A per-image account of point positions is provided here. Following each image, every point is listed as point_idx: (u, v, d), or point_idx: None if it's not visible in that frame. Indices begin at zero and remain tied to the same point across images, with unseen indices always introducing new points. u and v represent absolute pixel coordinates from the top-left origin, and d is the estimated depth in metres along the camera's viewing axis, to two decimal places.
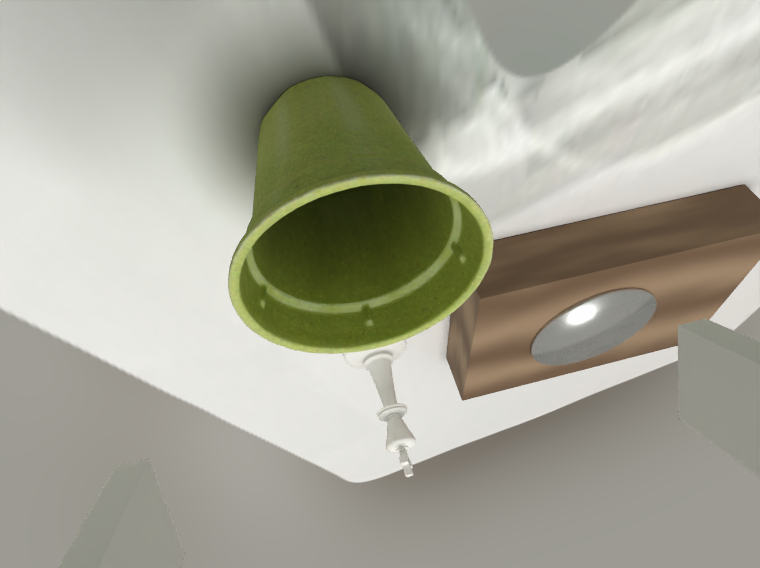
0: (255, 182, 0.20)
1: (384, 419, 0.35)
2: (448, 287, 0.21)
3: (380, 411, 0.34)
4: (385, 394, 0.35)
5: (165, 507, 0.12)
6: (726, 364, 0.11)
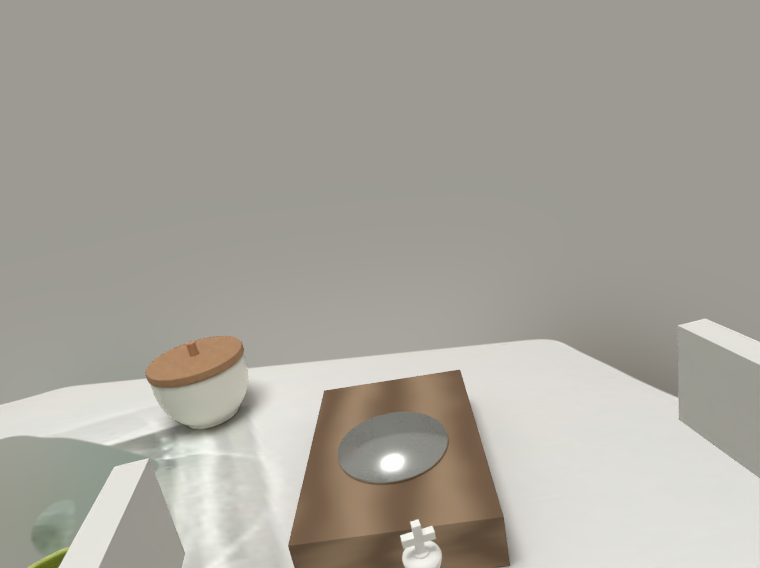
0: None
1: None
2: None
3: None
4: None
5: (165, 506, 0.12)
6: (726, 364, 0.11)
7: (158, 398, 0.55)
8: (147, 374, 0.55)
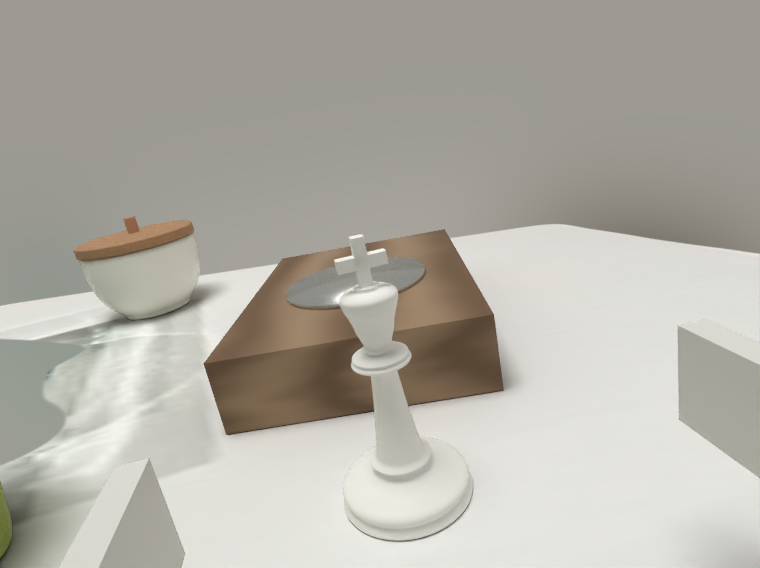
0: None
1: (387, 358, 0.17)
2: None
3: (362, 373, 0.17)
4: (372, 392, 0.18)
5: (165, 506, 0.12)
6: (726, 364, 0.11)
7: (88, 277, 0.46)
8: (75, 249, 0.46)
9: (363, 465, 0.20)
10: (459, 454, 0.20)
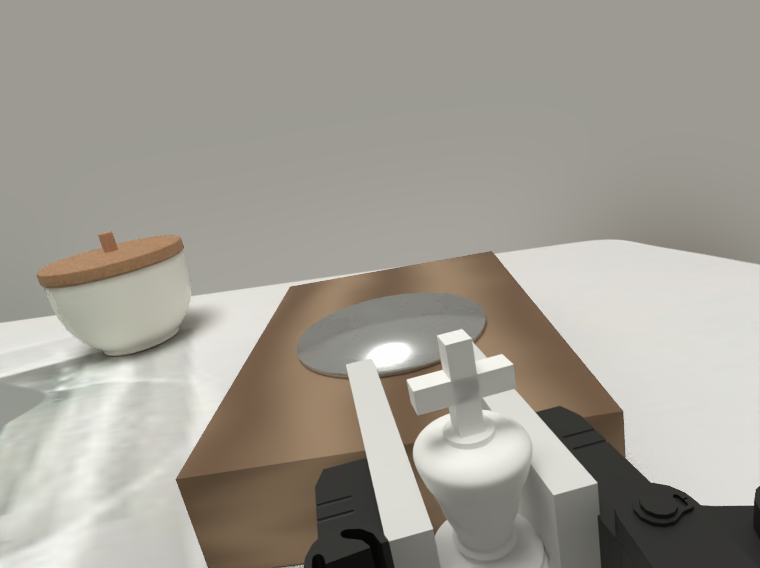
0: None
1: None
2: None
3: None
4: None
5: None
6: None
7: (54, 307, 0.38)
8: (38, 272, 0.38)
9: None
10: None
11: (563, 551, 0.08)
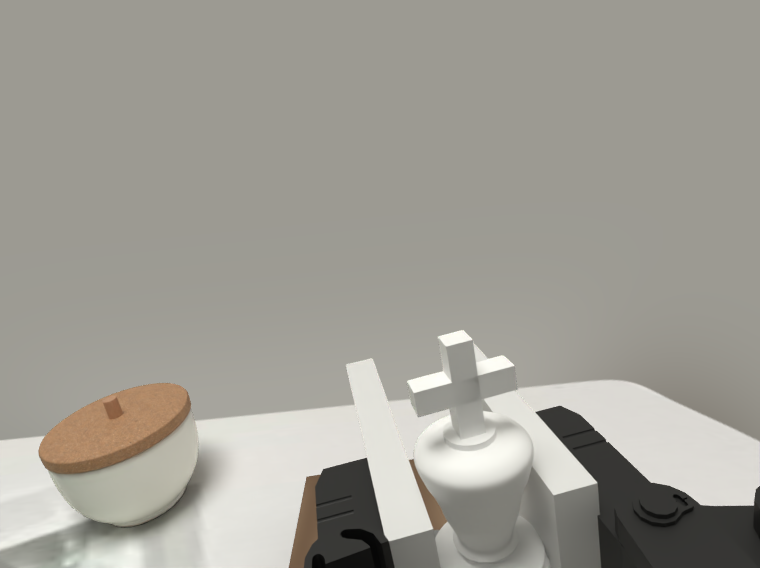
0: None
1: None
2: None
3: None
4: None
5: None
6: None
7: (57, 486, 0.36)
8: (40, 450, 0.37)
9: None
10: None
11: (563, 551, 0.08)
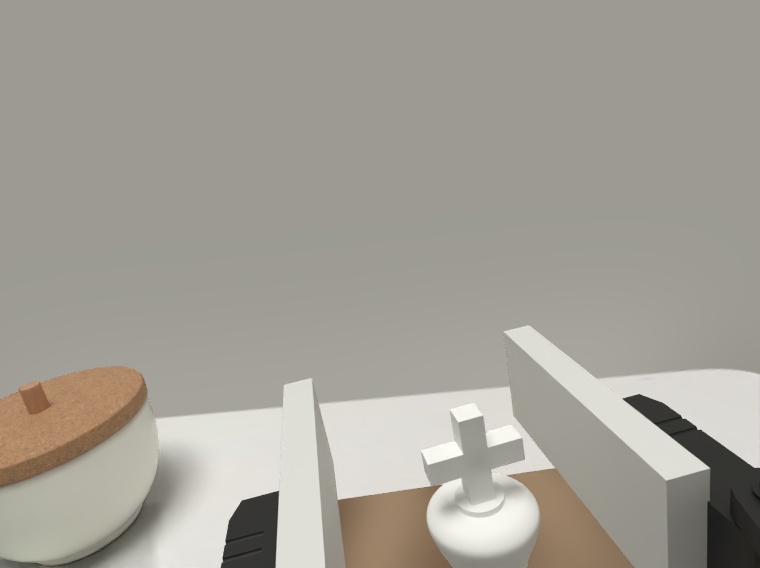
0: None
1: None
2: None
3: None
4: None
5: (321, 421, 0.14)
6: (528, 366, 0.13)
7: None
8: None
9: None
10: None
11: (670, 538, 0.08)
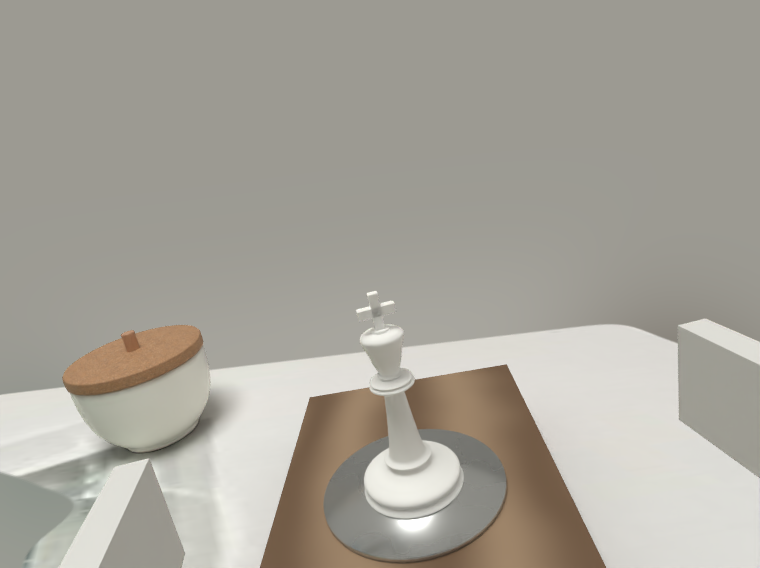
0: None
1: (396, 382, 0.23)
2: None
3: (377, 393, 0.23)
4: None
5: (165, 507, 0.12)
6: (726, 364, 0.11)
7: (79, 410, 0.39)
8: (64, 377, 0.39)
9: (379, 463, 0.25)
10: (453, 454, 0.25)
11: None
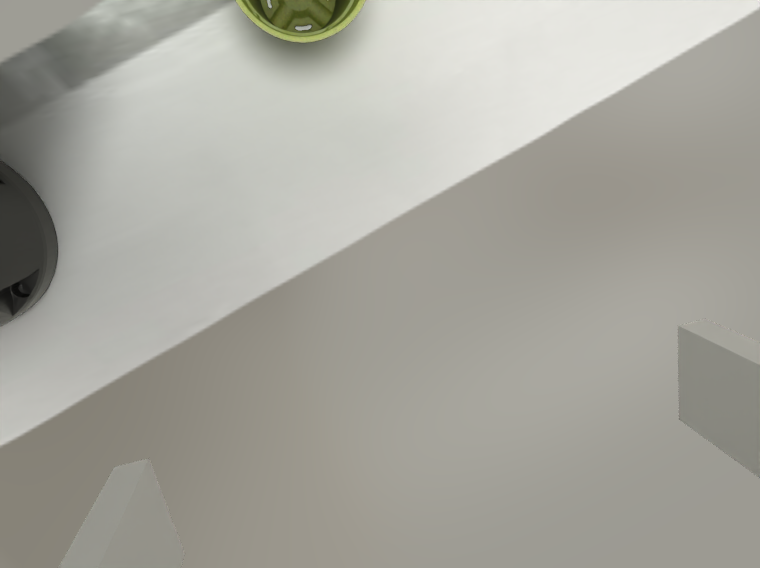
0: None
1: None
2: None
3: None
4: None
5: (165, 506, 0.12)
6: (726, 364, 0.11)
7: None
8: None
9: None
10: None
11: None
